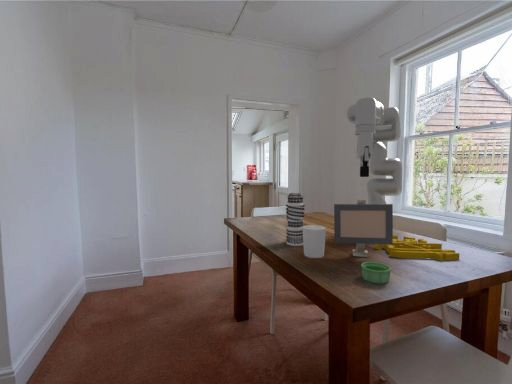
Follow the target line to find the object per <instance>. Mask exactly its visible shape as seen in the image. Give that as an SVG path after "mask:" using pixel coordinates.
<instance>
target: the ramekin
mask: <svg viewBox="0 0 512 384" xmlns="http://www.w3.org/2000/svg"><path fill="white" fill-rule="evenodd" d="M360 267H361V275H362V278H363V280H364V281H366V282H369V283H372V284H387V283H389V281H390V277H391V271H392V267H391V265H388V264H386V263H382V262H377V261H364V262H362V263H361V265H360Z"/></svg>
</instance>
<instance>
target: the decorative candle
mask: <svg viewBox="0 0 512 384" xmlns="http://www.w3.org/2000/svg"><path fill="white" fill-rule="evenodd" d="M286 197H287V202H286V203H287V204H285V207H286V208H285V211H286V212H285V213H286V221H287V225H286V226H287V228H286V239H285V241H286V244H287V245H288V246H292V247H299V246H303V230H302V227H303V226H304V221H305V219H304V218H305V215H304V214H305V211H304V210H305V208H304V207H305V206H306V205H305V204H304V196H303V195H302V193H301V192H290V193H288V195H287V196H286Z"/></svg>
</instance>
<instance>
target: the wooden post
mask: <svg viewBox="0 0 512 384" xmlns="http://www.w3.org/2000/svg"><path fill="white" fill-rule="evenodd" d="M366 201H367V200H366V199H365V198H364V199H357V200H356V204H367V202H366ZM355 244H356V247H355V248H356V249H352V251H351V252H352V253H351V254H352V256H353V257H361V258H362V257H363V258H365V257H366V258H369V257H370V256H369V251H368V249H367V250H366V244H357V243H355Z"/></svg>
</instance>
